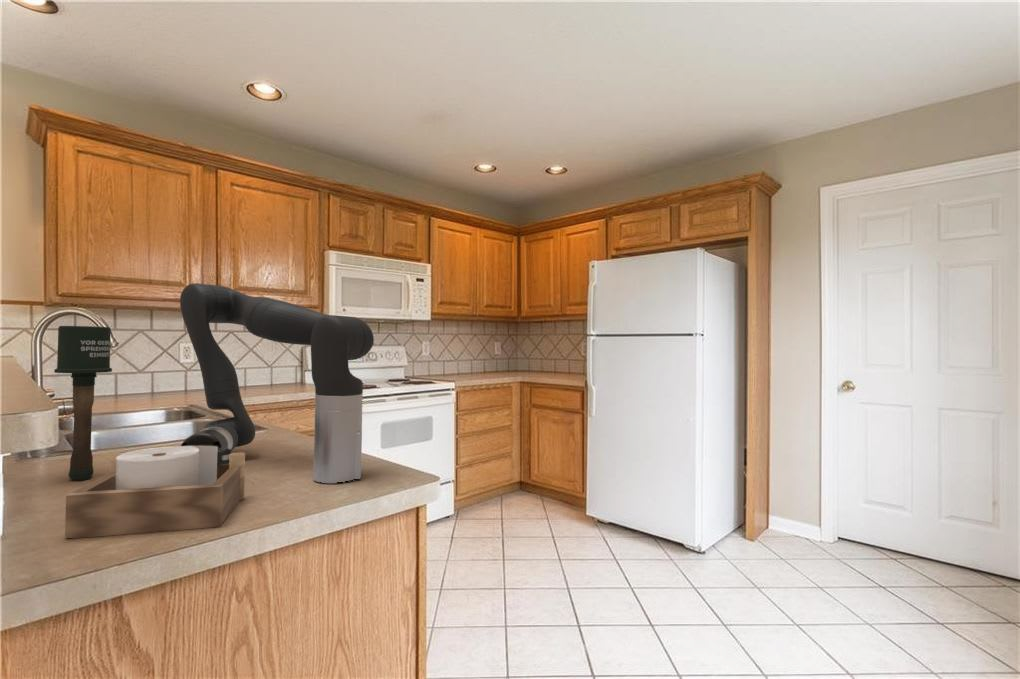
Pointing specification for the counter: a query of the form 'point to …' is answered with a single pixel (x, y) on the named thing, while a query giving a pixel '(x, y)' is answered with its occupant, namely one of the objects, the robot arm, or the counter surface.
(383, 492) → the counter surface
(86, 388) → the potato masher grenade
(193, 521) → the brown shallow open tray
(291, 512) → the counter surface
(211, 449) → the toilet tissue
